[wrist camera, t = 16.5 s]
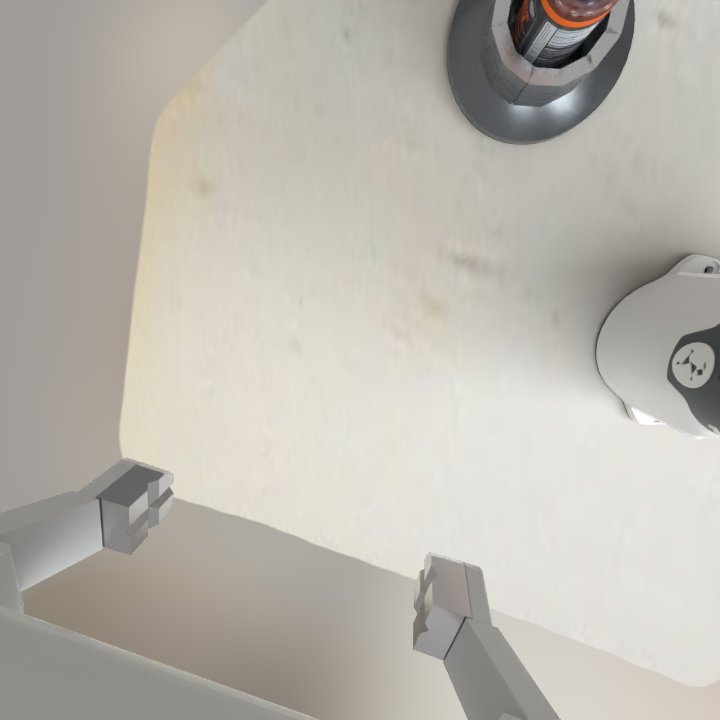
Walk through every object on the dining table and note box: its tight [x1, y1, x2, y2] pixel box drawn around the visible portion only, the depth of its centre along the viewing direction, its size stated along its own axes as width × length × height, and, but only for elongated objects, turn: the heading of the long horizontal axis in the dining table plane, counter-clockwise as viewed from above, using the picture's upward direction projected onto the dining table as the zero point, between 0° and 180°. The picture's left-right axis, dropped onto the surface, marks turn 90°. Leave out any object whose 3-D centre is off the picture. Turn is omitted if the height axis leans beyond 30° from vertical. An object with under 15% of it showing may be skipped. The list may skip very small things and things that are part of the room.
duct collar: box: [447, 0, 635, 144], centre depth 30 cm, size 16×16×5 cm
